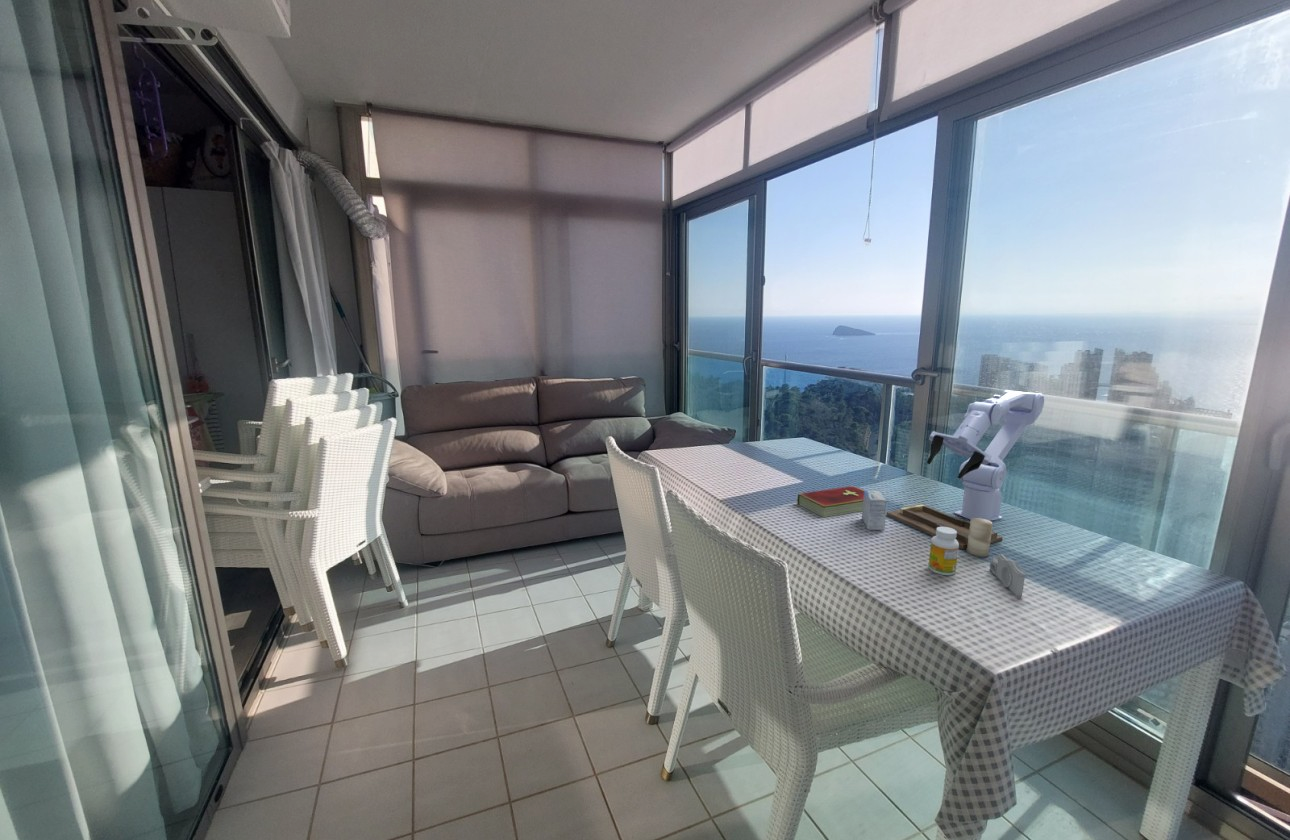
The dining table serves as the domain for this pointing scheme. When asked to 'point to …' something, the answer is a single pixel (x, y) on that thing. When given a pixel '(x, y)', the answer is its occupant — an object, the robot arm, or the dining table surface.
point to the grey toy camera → (1008, 573)
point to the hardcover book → (833, 501)
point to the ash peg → (979, 537)
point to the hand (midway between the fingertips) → (944, 468)
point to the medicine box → (874, 510)
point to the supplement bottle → (944, 551)
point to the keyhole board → (936, 522)
